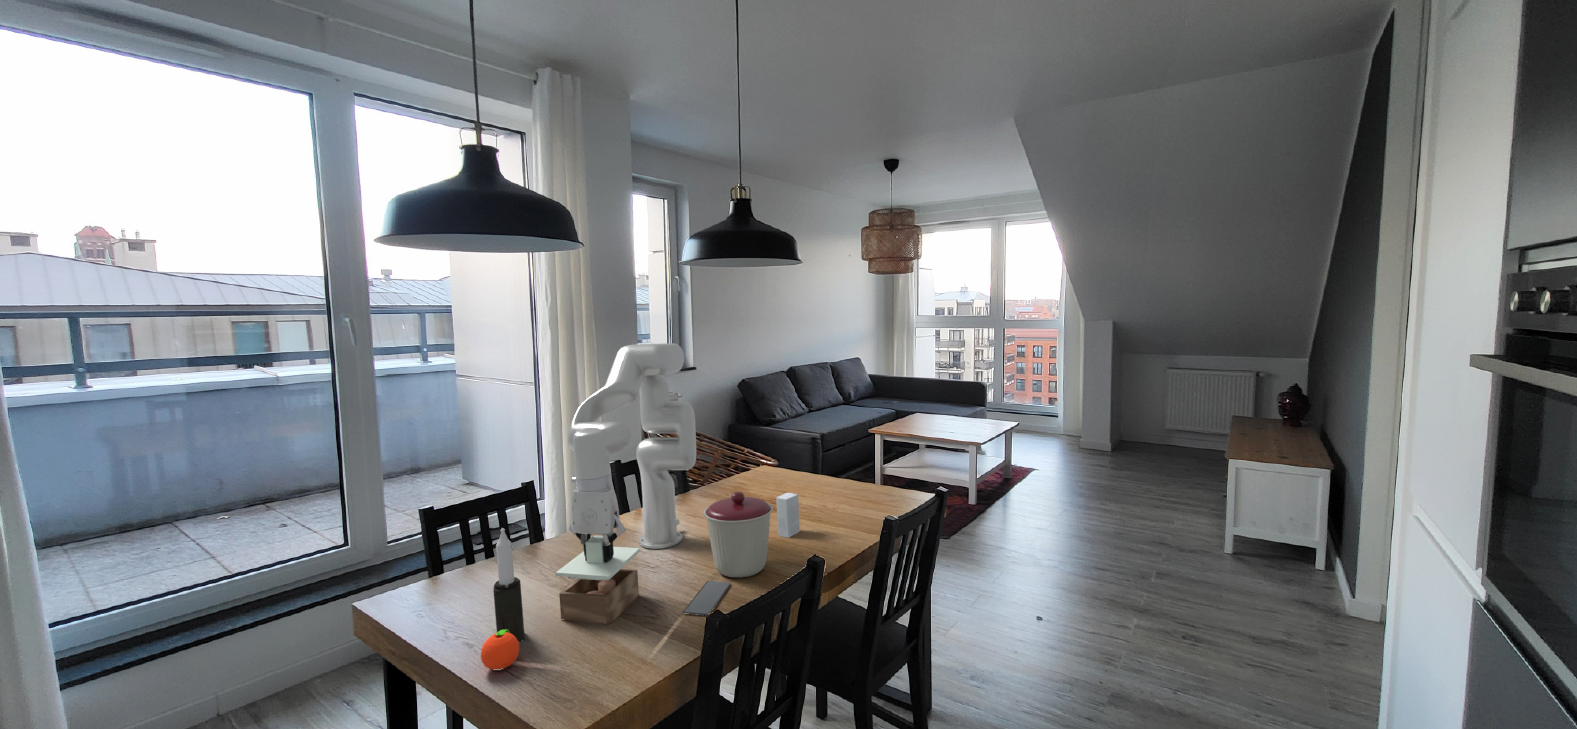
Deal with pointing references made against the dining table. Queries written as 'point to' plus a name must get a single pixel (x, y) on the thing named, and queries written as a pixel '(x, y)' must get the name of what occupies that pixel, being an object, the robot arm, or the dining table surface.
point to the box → (598, 598)
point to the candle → (507, 592)
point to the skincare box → (788, 514)
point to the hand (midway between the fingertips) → (599, 558)
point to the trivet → (707, 598)
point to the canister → (739, 534)
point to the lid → (597, 561)
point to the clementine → (500, 650)
